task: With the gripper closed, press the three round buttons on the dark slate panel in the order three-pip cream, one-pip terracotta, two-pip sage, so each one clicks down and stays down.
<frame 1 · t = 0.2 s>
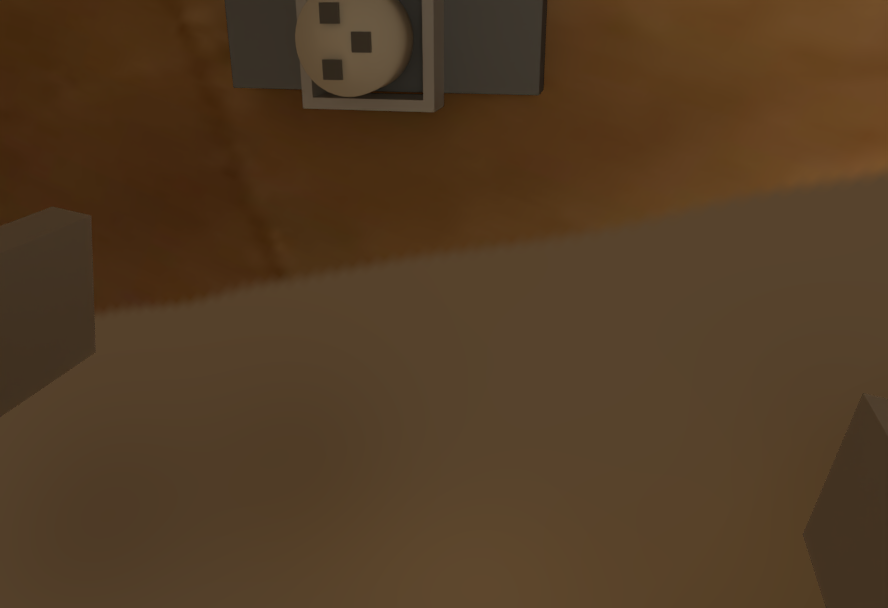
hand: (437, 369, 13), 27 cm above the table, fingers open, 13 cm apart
cream button: (354, 39, 33), point 5 cm above the table, slide at 0.0 cm
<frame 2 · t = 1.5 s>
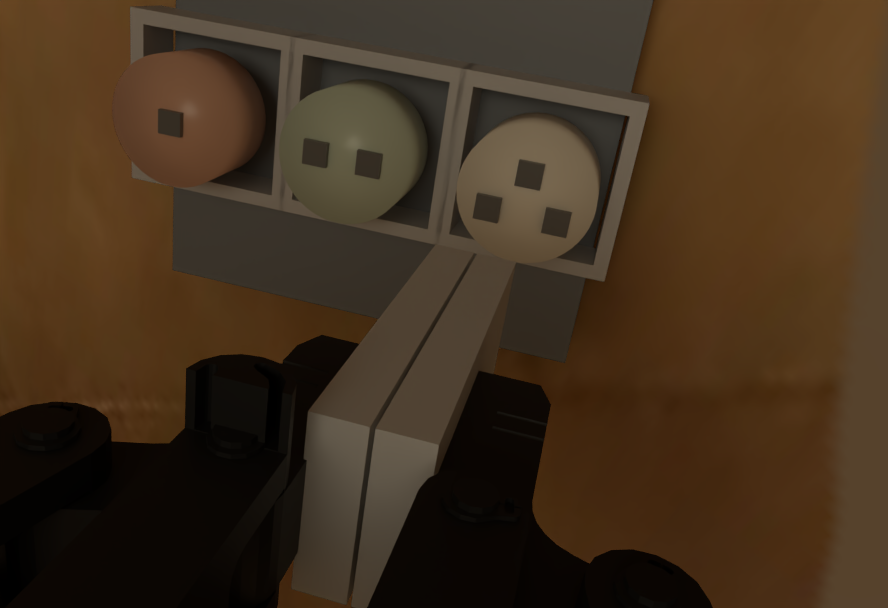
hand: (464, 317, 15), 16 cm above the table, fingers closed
panel: (397, 125, 31), on the table
cream button: (530, 187, 25), point 5 cm above the table, slide at 0.0 cm
terracotta button: (189, 117, 27), point 5 cm above the table, slide at 0.0 cm
sage button: (354, 151, 26), point 5 cm above the table, slide at 0.0 cm
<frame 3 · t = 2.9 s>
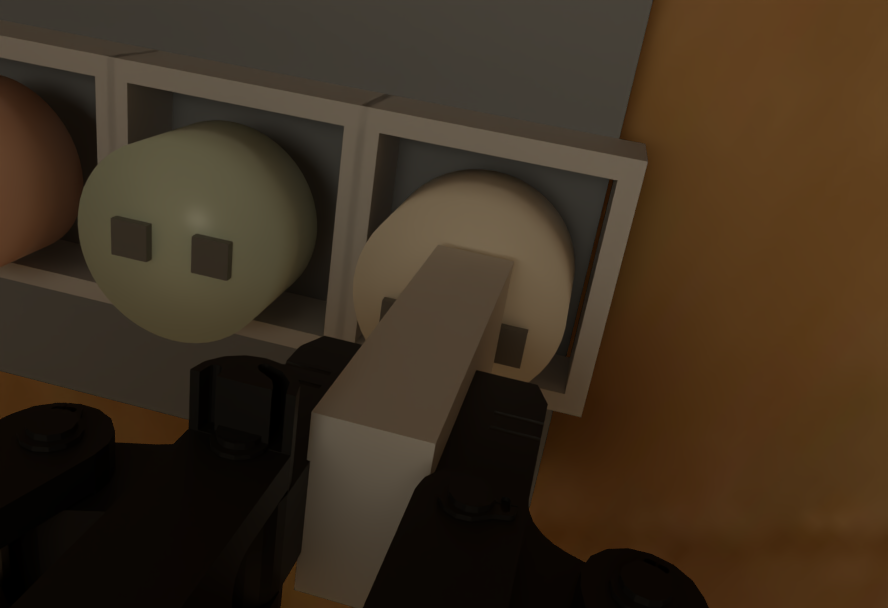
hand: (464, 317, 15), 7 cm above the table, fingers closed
panel: (293, 177, 22), on the table
cream button: (467, 284, 17), point 5 cm above the table, slide at 0.4 cm, touching gripper
sage button: (200, 230, 17), point 5 cm above the table, slide at 0.0 cm
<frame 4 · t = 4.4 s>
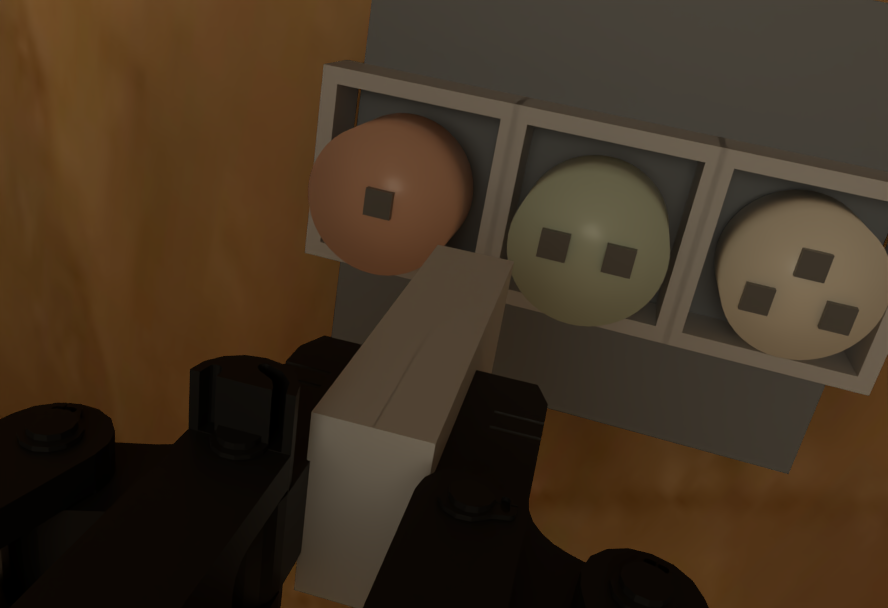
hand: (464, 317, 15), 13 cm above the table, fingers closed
panel: (601, 197, 27), on the table
cream button: (797, 274, 23), point 4 cm above the table, slide at 1.4 cm
terracotta button: (391, 193, 23), point 5 cm above the table, slide at 0.0 cm
sage button: (589, 240, 22), point 5 cm above the table, slide at 0.0 cm
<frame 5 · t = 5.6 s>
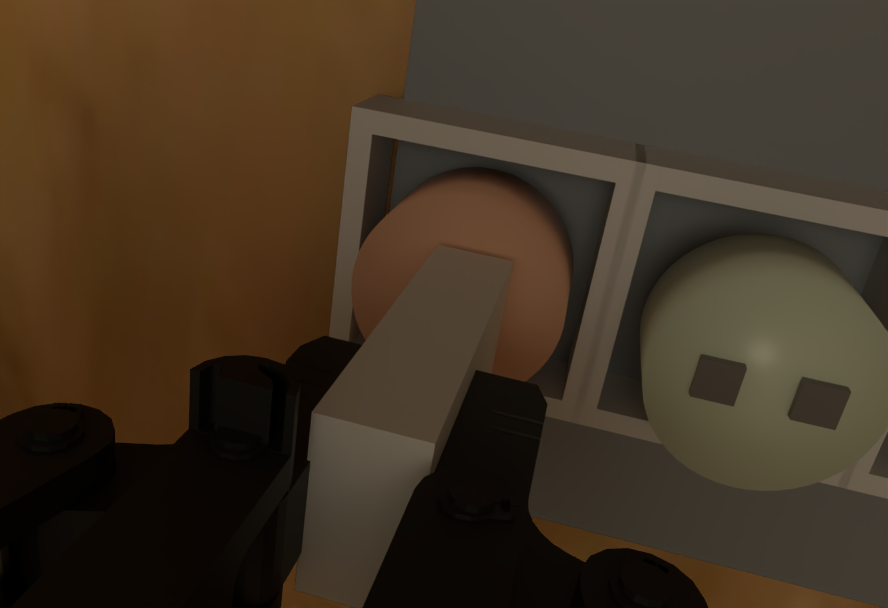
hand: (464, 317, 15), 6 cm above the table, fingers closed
panel: (724, 270, 20), on the table
terracotta button: (466, 282, 17), point 5 cm above the table, slide at 0.8 cm, touching gripper
sage button: (756, 361, 15), point 5 cm above the table, slide at 0.0 cm
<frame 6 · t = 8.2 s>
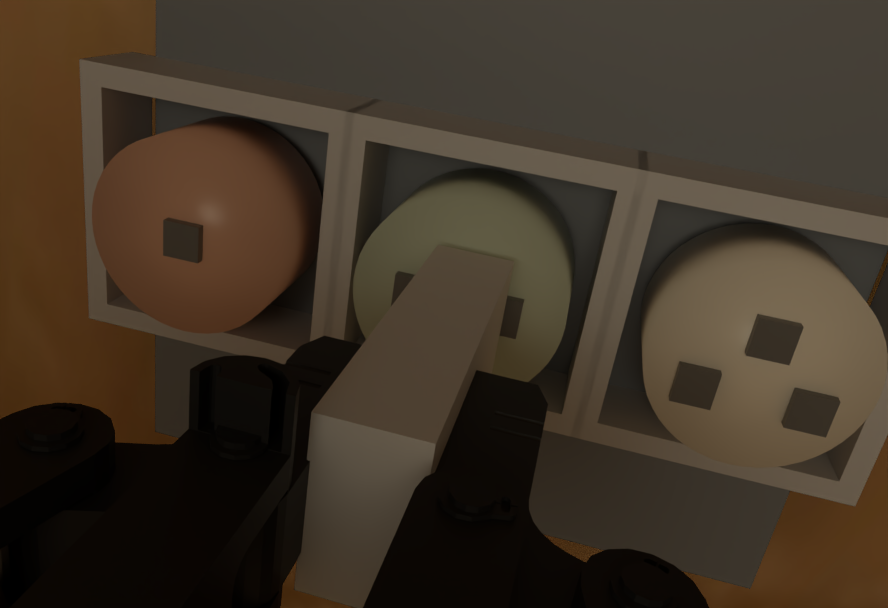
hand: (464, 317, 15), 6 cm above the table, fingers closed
panel: (495, 230, 20), on the table
cream button: (752, 344, 16), point 4 cm above the table, slide at 1.4 cm
terracotta button: (211, 224, 18), point 4 cm above the table, slide at 1.5 cm
sage button: (467, 283, 17), point 4 cm above the table, slide at 1.3 cm, touching gripper
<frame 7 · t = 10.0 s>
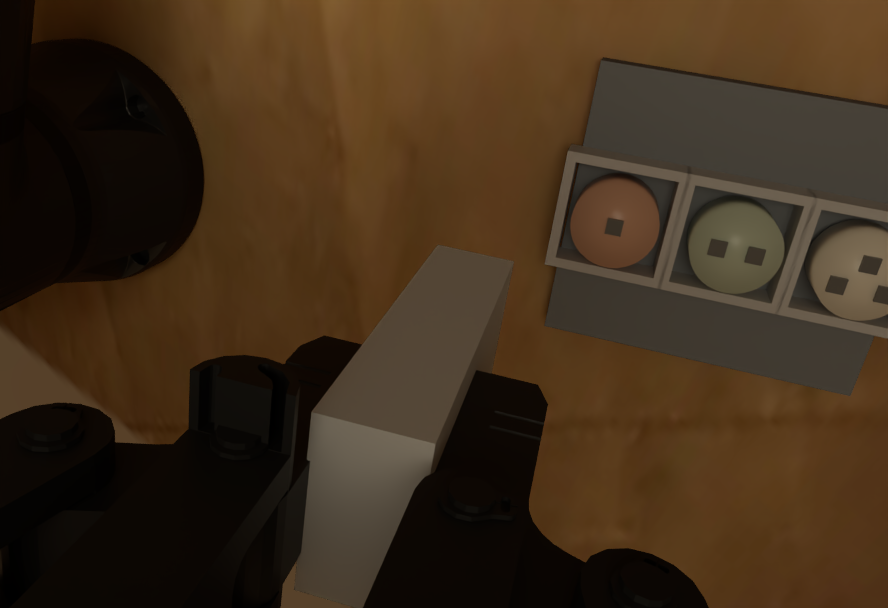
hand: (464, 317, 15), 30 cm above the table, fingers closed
panel: (726, 224, 43), on the table
cream button: (858, 270, 38), point 4 cm above the table, slide at 1.4 cm
terracotta button: (615, 220, 40), point 4 cm above the table, slide at 1.5 cm
sage button: (733, 244, 39), point 4 cm above the table, slide at 1.5 cm
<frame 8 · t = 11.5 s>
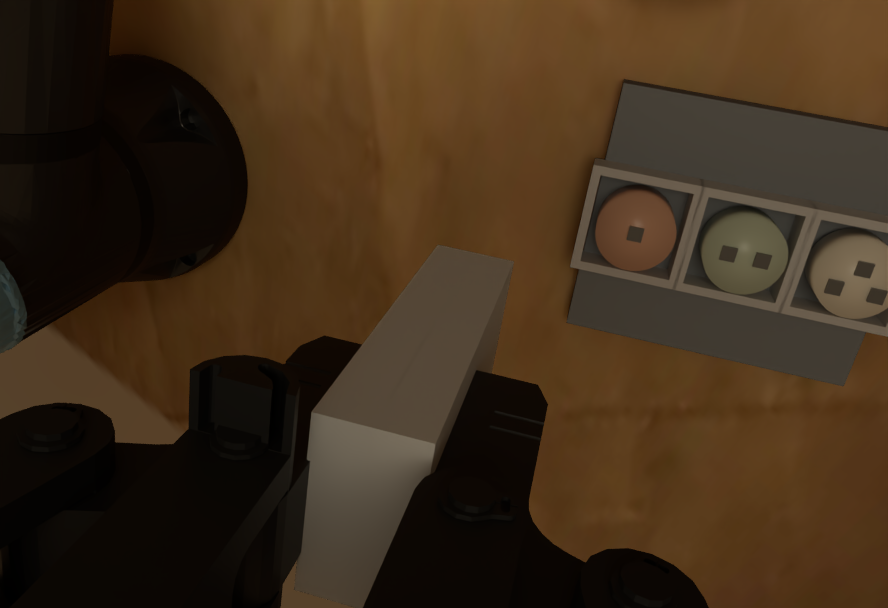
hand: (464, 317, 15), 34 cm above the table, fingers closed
panel: (733, 231, 47), on the table
cream button: (853, 273, 43), point 4 cm above the table, slide at 1.4 cm
terracotta button: (635, 228, 45), point 4 cm above the table, slide at 1.5 cm
sage button: (742, 250, 44), point 4 cm above the table, slide at 1.5 cm
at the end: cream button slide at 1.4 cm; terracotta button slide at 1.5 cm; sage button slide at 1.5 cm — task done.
